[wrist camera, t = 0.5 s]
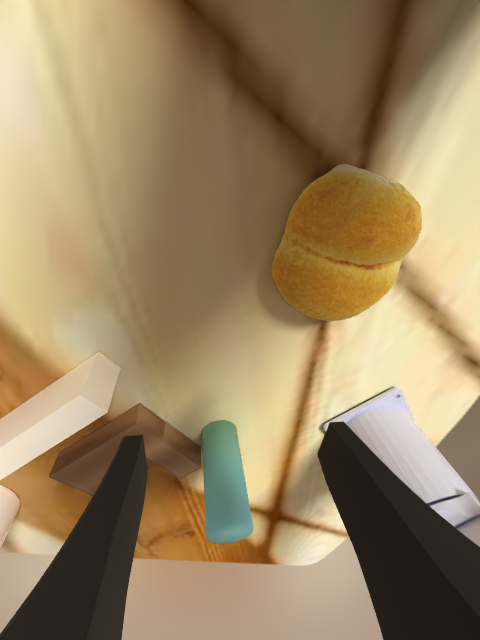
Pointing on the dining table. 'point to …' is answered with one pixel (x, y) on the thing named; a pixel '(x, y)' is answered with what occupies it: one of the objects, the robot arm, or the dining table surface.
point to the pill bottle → (7, 511)
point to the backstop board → (57, 412)
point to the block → (100, 446)
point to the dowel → (224, 485)
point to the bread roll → (345, 243)
